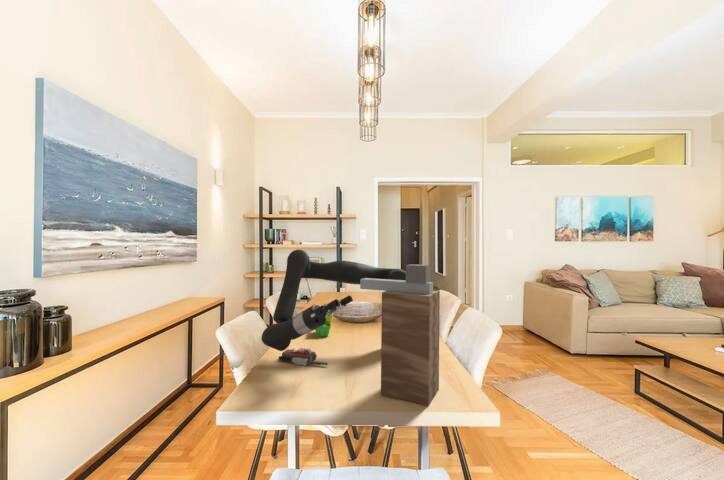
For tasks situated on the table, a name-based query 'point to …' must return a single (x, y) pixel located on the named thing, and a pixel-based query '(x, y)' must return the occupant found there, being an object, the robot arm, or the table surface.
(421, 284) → the gray l-shaped block
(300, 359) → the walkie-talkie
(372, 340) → the table surface
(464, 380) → the table surface
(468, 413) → the table surface
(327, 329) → the green potted plant
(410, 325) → the walnut stand
